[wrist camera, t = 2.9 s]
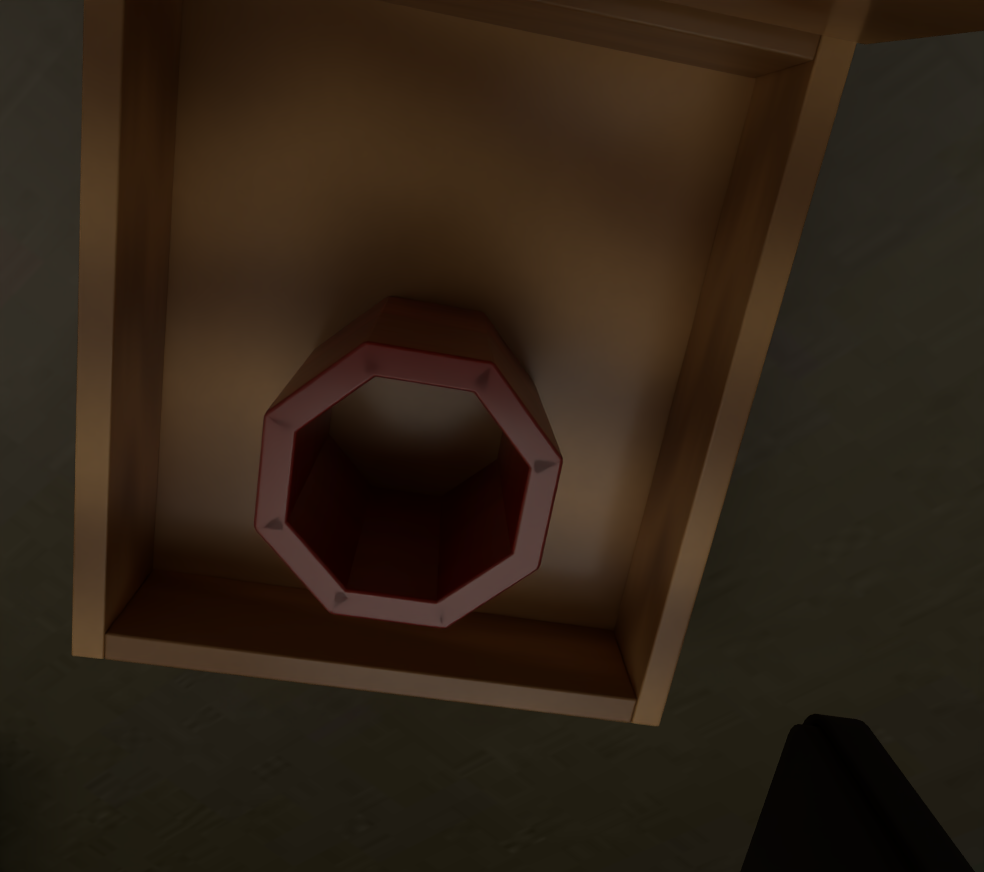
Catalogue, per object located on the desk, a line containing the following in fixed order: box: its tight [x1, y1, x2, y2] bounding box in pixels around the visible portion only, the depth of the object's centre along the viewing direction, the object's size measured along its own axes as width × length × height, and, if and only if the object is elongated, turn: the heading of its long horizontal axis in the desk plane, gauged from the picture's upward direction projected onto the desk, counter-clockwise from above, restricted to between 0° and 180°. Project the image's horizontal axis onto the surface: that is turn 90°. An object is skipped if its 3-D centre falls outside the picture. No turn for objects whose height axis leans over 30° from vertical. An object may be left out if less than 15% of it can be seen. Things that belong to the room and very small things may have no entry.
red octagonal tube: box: [254, 296, 563, 629], centre depth 20 cm, size 6×6×6 cm
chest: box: [72, 0, 857, 726], centre depth 21 cm, size 18×16×4 cm
